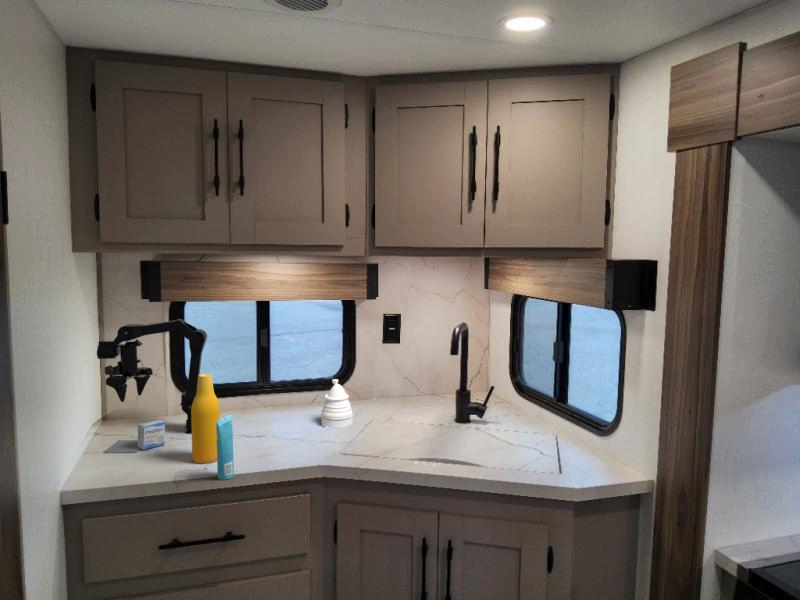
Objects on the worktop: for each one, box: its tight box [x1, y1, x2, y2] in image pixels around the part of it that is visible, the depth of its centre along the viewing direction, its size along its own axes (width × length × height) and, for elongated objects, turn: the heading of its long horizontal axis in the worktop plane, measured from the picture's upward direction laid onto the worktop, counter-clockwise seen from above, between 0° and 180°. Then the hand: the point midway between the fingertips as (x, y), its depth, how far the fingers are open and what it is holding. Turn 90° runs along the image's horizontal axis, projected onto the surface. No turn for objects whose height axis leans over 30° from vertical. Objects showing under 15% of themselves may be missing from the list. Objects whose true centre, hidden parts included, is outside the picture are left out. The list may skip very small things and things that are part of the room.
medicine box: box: [137, 419, 166, 451], centre depth 199 cm, size 8×4×9 cm, turn 143°
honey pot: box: [320, 378, 354, 427], centre depth 227 cm, size 13×13×18 cm
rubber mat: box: [102, 439, 141, 454], centre depth 199 cm, size 11×12×1 cm
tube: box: [216, 413, 235, 481], centre depth 173 cm, size 7×5×19 cm, turn 167°
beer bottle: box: [191, 373, 221, 465], centre depth 187 cm, size 9×9×29 cm
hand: (131, 398), depth 211 cm, fingers open, 9 cm apart
